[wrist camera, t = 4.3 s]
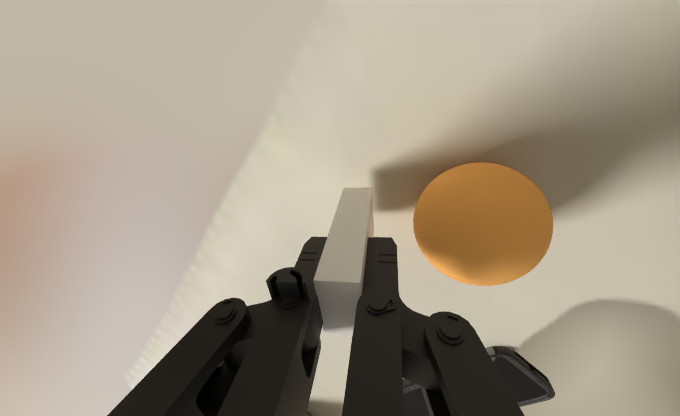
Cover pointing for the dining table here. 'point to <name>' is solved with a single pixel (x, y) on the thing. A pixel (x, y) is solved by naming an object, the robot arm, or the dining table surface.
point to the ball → (483, 224)
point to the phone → (514, 371)
